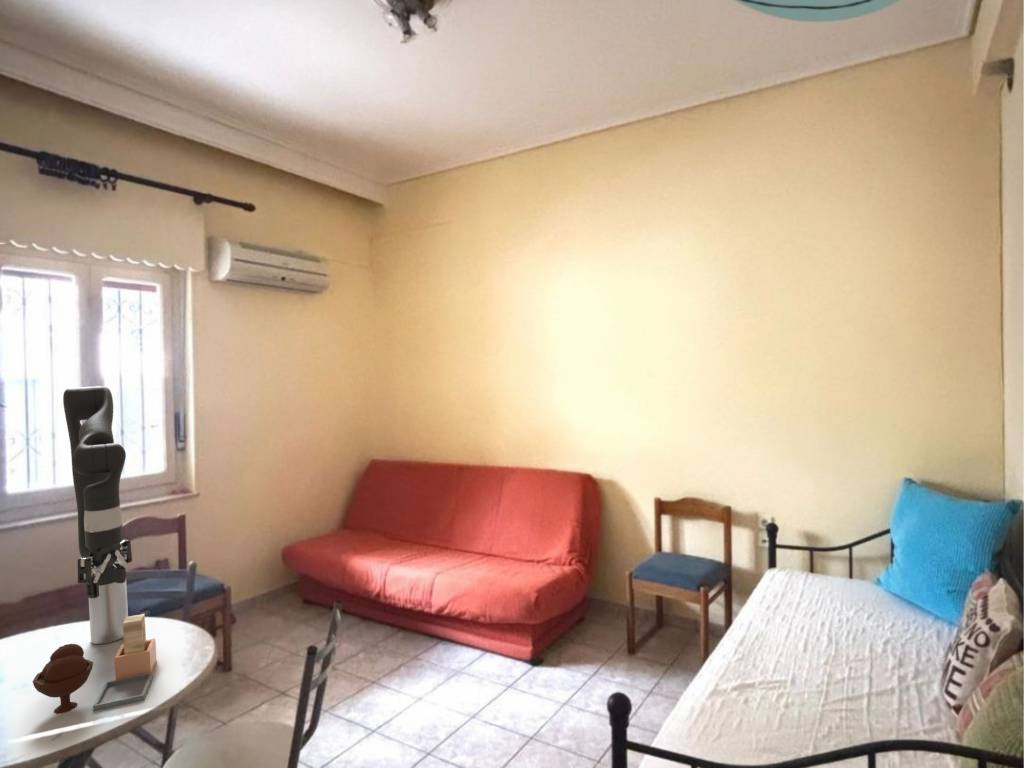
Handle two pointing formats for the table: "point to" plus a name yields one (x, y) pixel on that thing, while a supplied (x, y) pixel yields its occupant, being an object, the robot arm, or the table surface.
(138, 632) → the birch peg
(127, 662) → the orange open box
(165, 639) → the table surface
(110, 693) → the grey square tray
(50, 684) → the ice cream bowl
